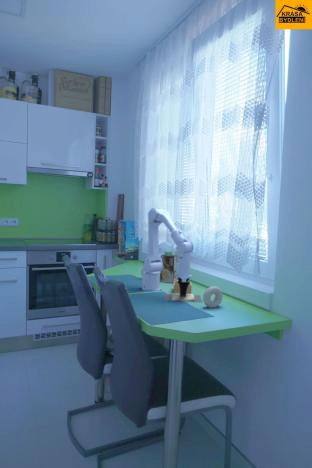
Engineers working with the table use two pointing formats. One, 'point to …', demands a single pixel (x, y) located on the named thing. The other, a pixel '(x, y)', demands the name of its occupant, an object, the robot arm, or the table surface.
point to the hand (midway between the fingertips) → (183, 293)
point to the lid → (182, 297)
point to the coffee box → (169, 268)
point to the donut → (216, 300)
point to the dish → (177, 288)
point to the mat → (169, 297)
